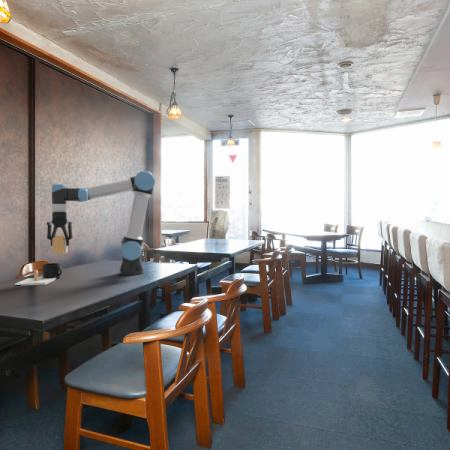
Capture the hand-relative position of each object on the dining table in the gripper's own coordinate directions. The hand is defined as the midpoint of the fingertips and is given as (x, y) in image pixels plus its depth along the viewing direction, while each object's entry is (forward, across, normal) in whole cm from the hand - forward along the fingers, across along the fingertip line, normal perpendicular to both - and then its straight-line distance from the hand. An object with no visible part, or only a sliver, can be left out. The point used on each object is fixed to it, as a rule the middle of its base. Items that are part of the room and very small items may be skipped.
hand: (60, 251), depth 214 cm
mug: (+18, +7, -7) cm, 20 cm away
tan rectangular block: (+1, 0, 0) cm, 1 cm away
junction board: (+17, +12, +2) cm, 21 cm away
